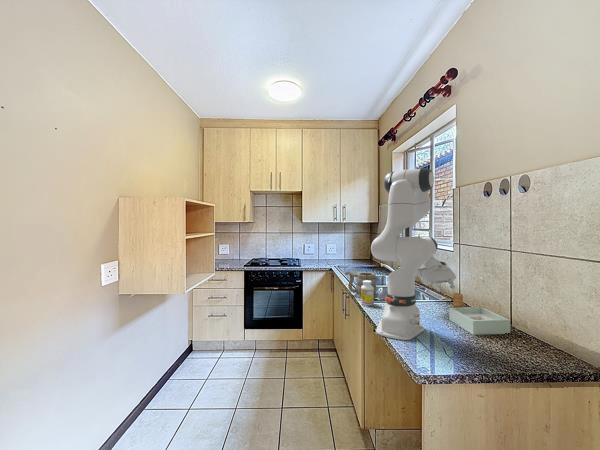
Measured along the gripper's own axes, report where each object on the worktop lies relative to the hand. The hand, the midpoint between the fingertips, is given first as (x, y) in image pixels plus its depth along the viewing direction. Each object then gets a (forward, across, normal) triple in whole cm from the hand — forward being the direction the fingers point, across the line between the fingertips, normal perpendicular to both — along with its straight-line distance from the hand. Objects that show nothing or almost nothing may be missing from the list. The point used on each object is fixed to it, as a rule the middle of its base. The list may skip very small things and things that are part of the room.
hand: (447, 289), depth 146 cm
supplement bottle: (-12, -27, +28) cm, 41 cm away
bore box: (+22, -6, -6) cm, 24 cm away
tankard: (-24, -20, +40) cm, 51 cm away
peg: (+12, 0, +4) cm, 13 cm away
